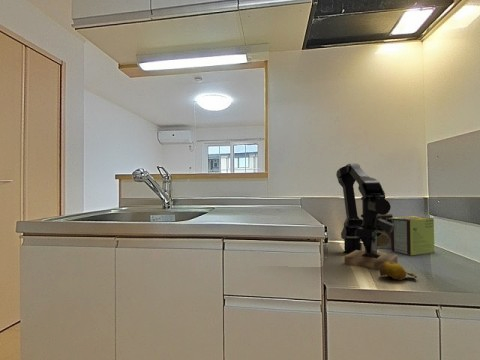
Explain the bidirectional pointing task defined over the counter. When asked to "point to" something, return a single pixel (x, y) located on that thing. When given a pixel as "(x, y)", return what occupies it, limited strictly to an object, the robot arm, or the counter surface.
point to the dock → (368, 259)
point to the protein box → (413, 235)
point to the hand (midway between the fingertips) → (370, 251)
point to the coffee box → (384, 235)
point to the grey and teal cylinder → (372, 249)
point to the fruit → (394, 271)
